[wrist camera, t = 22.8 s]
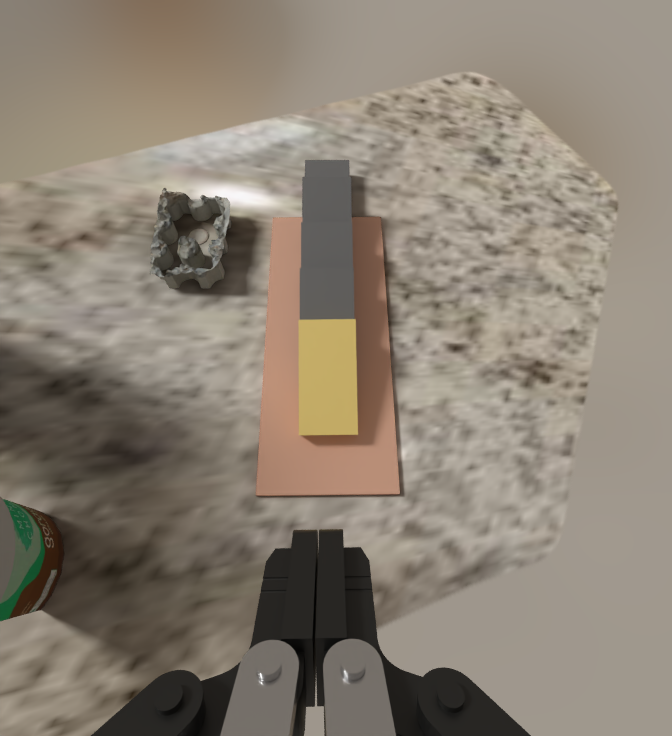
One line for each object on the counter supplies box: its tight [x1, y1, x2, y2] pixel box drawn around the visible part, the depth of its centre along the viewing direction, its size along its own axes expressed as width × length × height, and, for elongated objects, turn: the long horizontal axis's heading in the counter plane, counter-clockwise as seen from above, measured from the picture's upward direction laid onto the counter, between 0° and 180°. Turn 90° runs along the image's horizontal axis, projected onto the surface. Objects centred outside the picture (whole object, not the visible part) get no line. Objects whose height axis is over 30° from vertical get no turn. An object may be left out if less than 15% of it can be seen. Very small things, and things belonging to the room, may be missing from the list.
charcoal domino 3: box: [301, 222, 353, 268], centre depth 43 cm, size 2×5×10 cm
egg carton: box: [150, 188, 231, 289], centre depth 46 cm, size 11×8×4 cm
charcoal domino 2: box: [302, 177, 352, 222], centre depth 46 cm, size 2×5×10 cm
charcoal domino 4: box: [300, 267, 354, 320], centre depth 41 cm, size 2×5×10 cm
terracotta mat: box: [256, 217, 400, 496], centre depth 43 cm, size 30×12×1 cm, turn 1°
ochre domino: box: [299, 319, 358, 435], centre depth 39 cm, size 2×5×10 cm
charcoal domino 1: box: [305, 160, 349, 177], centre depth 49 cm, size 2×5×10 cm
